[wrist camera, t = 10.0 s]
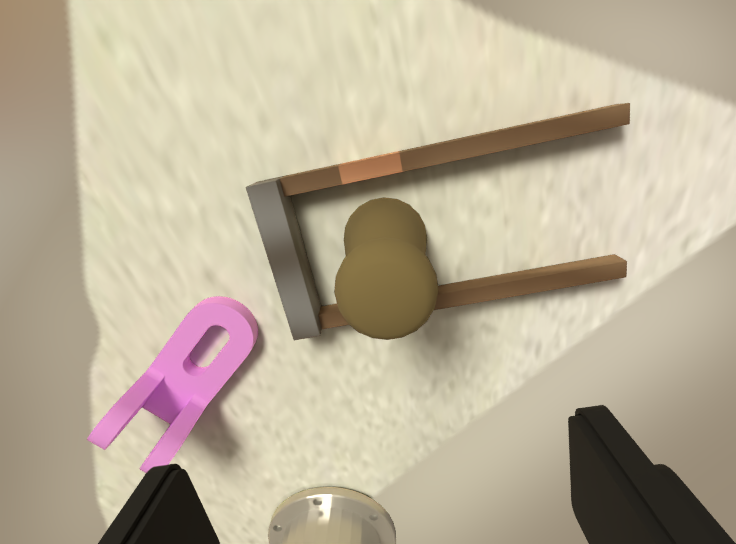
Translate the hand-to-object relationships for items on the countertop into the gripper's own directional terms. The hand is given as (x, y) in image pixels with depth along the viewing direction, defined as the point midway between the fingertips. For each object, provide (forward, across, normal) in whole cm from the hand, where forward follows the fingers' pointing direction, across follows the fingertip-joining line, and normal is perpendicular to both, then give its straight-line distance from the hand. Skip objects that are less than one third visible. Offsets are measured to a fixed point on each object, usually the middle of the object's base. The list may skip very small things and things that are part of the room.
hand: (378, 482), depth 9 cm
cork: (+21, 0, 0) cm, 21 cm away
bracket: (+21, +17, +7) cm, 28 cm away
